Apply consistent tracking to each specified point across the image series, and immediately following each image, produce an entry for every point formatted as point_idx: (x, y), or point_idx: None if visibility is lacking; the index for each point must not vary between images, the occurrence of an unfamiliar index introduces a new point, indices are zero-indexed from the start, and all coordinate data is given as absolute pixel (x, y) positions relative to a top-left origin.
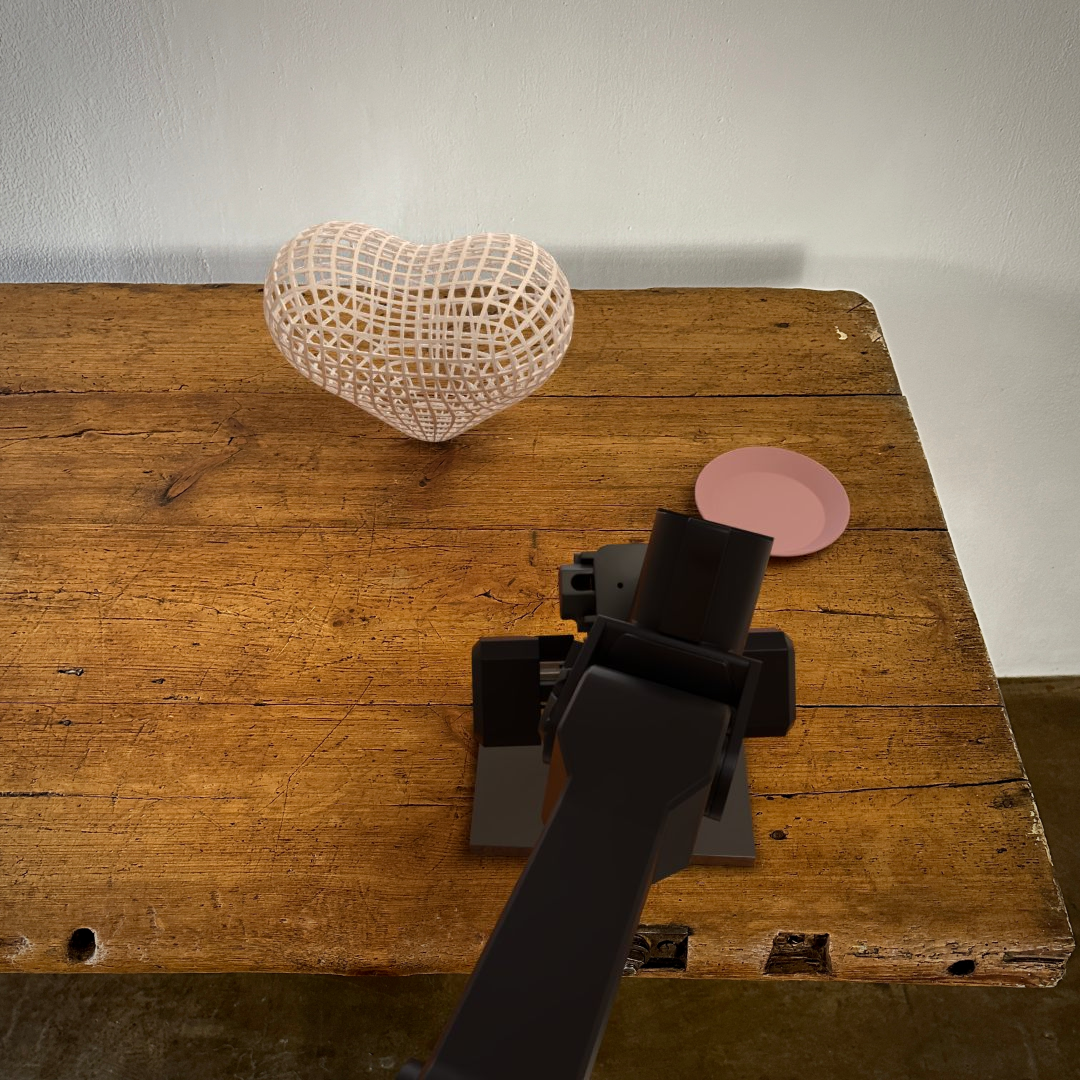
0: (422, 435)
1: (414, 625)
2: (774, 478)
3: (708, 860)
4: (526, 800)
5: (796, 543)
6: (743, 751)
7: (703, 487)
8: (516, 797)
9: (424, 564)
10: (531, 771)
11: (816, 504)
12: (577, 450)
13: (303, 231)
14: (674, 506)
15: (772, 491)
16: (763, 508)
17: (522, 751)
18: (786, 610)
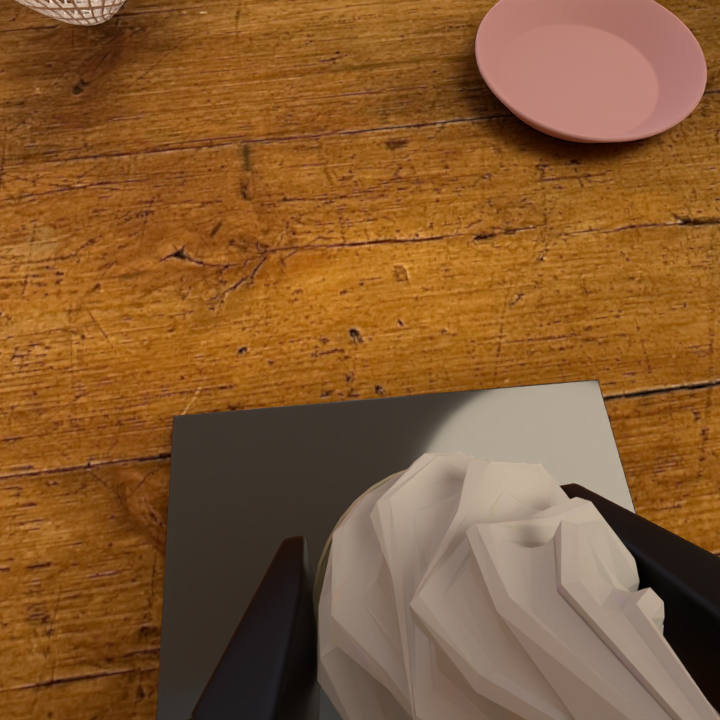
0: (57, 7)
1: (64, 321)
2: (576, 31)
3: None
4: None
5: (625, 122)
6: (631, 503)
7: (485, 49)
8: None
9: (80, 215)
10: None
11: (640, 62)
12: (298, 20)
13: None
14: (443, 86)
15: (577, 50)
16: (569, 75)
17: (244, 561)
18: (630, 227)
